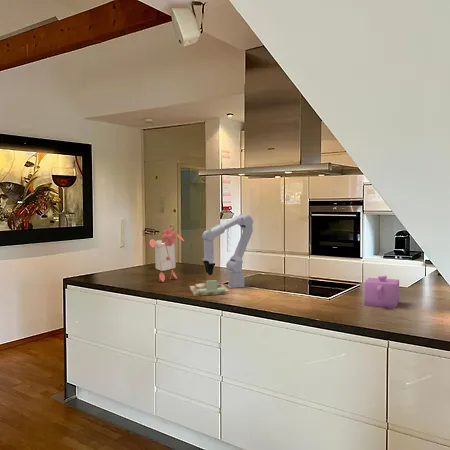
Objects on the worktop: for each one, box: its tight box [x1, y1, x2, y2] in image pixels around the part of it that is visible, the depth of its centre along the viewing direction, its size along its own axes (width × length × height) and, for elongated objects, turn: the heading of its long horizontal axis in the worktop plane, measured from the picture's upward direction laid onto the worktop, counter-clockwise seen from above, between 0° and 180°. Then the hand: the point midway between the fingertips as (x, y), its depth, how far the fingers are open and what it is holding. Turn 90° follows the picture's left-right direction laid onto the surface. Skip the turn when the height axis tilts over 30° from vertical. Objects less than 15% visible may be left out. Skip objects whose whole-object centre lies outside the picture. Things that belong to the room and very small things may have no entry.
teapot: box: [363, 275, 400, 309], centre depth 238 cm, size 15×25×14 cm, turn 154°
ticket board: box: [189, 282, 230, 297], centre depth 274 cm, size 20×20×3 cm
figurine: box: [149, 227, 185, 284], centre depth 303 cm, size 15×26×35 cm, turn 136°
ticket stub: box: [199, 279, 225, 293], centre depth 265 cm, size 14×5×6 cm, turn 101°
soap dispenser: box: [154, 239, 177, 272], centre depth 352 cm, size 15×14×22 cm
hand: (209, 273), depth 277 cm, fingers open, 7 cm apart
